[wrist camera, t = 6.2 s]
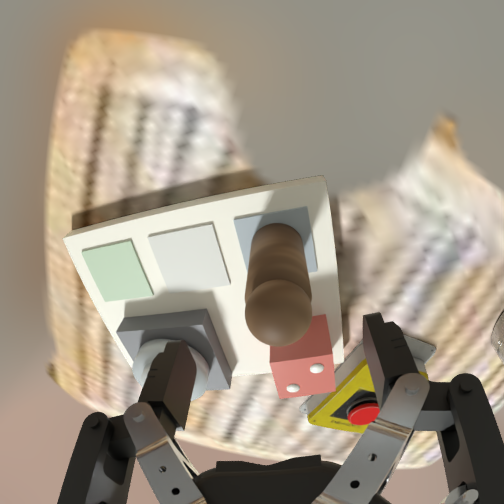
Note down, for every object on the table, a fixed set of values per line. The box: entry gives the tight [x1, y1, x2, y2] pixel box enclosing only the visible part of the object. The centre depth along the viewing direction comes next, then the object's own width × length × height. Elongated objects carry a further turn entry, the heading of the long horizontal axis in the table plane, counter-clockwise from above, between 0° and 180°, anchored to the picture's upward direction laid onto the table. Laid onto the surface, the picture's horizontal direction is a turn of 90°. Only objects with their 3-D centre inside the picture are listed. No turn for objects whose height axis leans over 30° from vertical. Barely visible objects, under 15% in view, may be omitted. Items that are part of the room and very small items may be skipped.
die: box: [269, 314, 336, 399], centre depth 25 cm, size 4×4×5 cm
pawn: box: [245, 223, 312, 347], centre depth 19 cm, size 4×4×9 cm
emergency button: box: [300, 334, 436, 434], centre depth 30 cm, size 9×4×15 cm
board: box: [63, 175, 344, 390], centre depth 25 cm, size 21×17×4 cm
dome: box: [132, 339, 209, 401], centre depth 26 cm, size 6×6×4 cm
